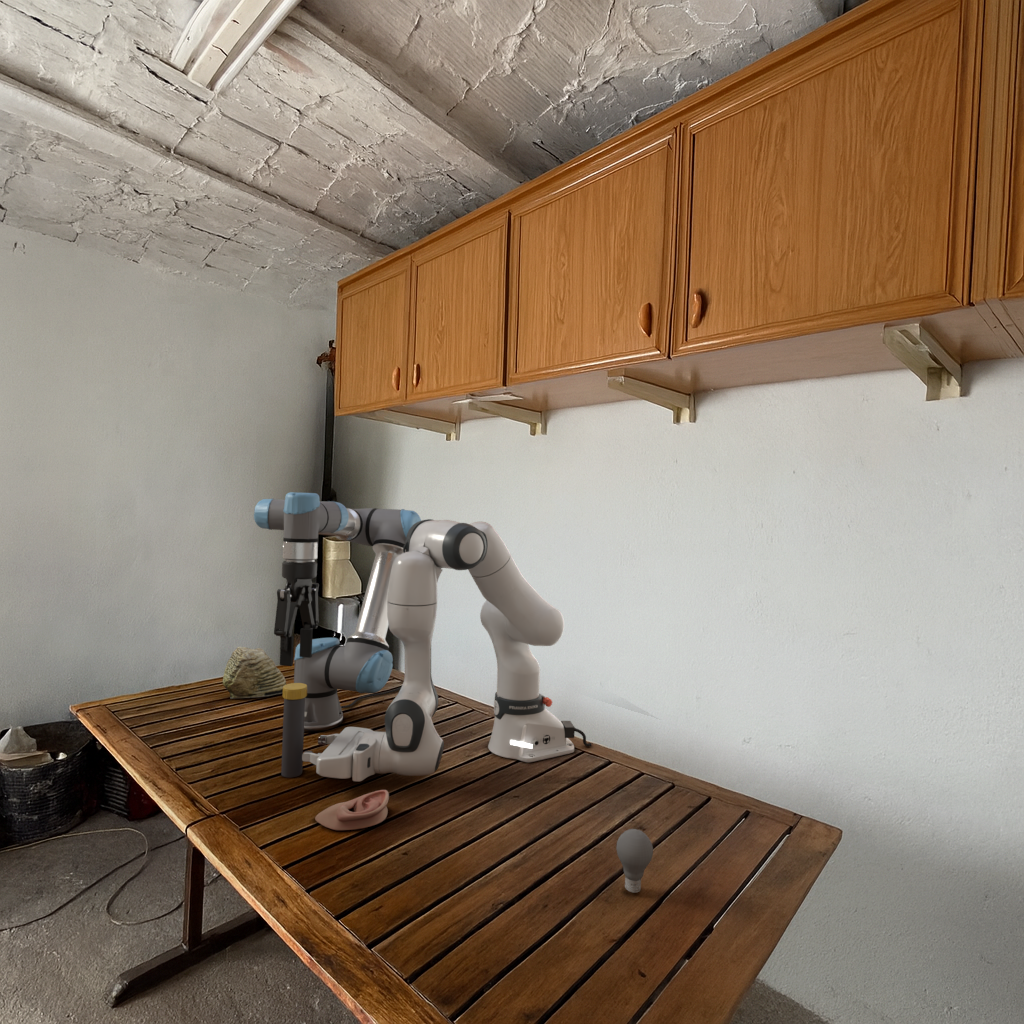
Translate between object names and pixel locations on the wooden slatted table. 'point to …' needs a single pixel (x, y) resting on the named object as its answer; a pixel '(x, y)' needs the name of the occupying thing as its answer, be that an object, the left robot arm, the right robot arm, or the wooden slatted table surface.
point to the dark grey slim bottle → (293, 737)
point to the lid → (294, 691)
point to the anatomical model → (356, 812)
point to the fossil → (252, 674)
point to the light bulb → (634, 857)
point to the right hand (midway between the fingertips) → (311, 747)
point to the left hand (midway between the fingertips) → (296, 660)
